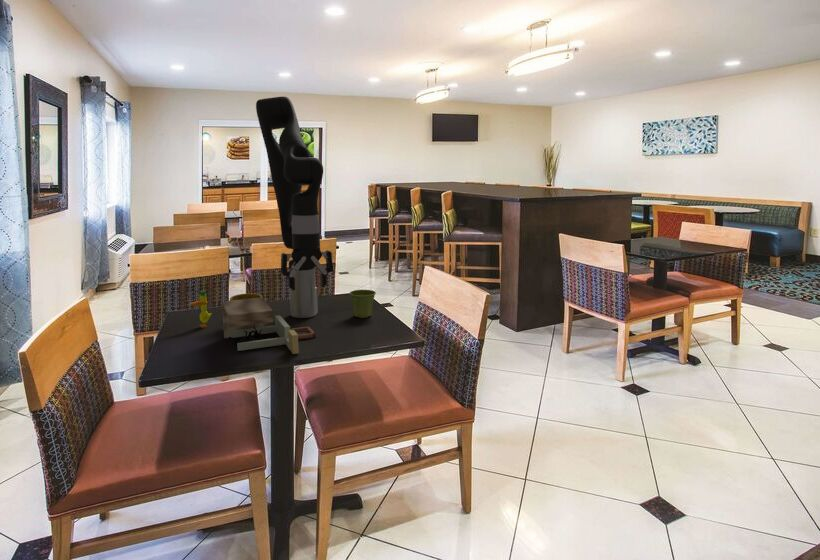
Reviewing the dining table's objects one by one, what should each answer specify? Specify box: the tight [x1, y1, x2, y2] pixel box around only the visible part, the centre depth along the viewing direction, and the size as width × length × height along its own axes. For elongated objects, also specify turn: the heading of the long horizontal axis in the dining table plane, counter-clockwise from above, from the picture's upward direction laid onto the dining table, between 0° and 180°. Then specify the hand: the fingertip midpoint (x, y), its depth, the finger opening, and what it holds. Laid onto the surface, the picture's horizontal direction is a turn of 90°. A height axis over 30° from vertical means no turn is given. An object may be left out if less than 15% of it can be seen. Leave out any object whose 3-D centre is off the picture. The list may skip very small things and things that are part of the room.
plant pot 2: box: [349, 289, 377, 319], centre depth 179 cm, size 9×9×9 cm
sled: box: [231, 314, 300, 355], centre depth 147 cm, size 15×24×6 cm, turn 26°
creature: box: [235, 325, 262, 346], centre depth 149 cm, size 8×5×8 cm
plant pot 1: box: [229, 292, 263, 301], centre depth 168 cm, size 10×10×10 cm
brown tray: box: [290, 326, 316, 341], centre depth 157 cm, size 7×8×1 cm
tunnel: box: [221, 297, 274, 339], centre depth 149 cm, size 12×17×12 cm
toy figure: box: [189, 291, 213, 329], centre depth 165 cm, size 7×4×12 cm, turn 126°
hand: (308, 288), depth 141 cm, fingers open, 8 cm apart
